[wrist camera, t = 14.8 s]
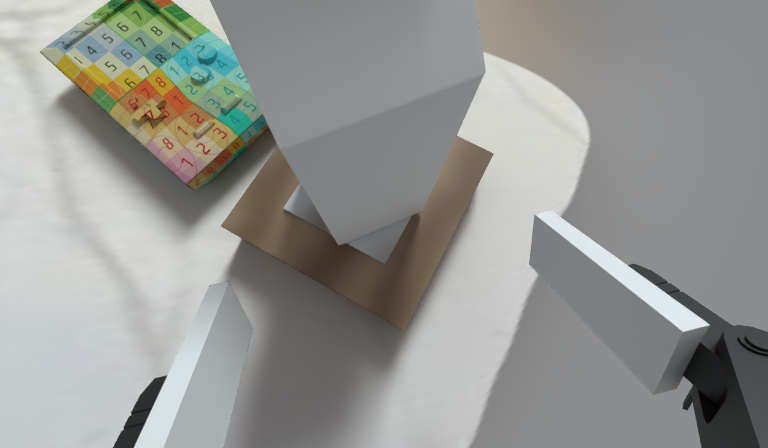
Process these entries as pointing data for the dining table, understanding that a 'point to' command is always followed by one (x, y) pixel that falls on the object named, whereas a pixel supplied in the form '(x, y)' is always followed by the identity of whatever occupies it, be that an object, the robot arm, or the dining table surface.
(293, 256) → the walnut riser
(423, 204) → the milk carton
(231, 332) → the robot arm
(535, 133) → the dining table surface
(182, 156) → the puzzle game
